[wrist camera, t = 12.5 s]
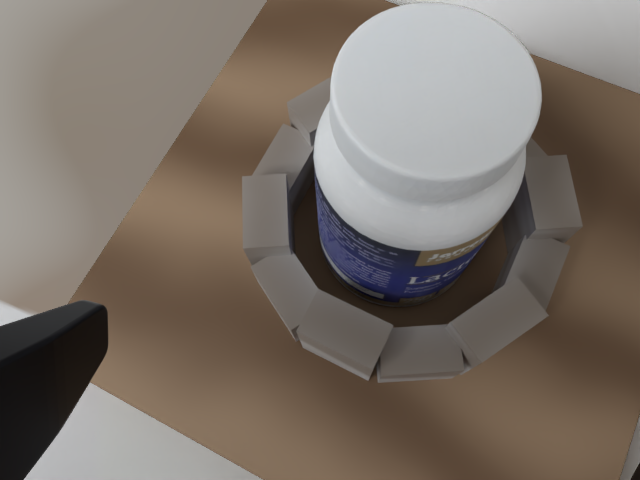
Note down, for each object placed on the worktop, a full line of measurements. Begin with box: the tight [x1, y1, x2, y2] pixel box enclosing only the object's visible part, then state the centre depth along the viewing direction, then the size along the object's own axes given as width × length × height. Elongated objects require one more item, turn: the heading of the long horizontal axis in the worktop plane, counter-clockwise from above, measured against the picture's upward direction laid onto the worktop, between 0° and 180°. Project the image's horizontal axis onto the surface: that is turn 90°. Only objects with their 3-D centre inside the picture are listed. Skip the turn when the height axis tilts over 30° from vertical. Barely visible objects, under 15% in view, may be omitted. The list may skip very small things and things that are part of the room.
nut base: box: [68, 0, 640, 480], centre depth 21 cm, size 20×20×4 cm
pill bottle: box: [313, 2, 542, 307], centre depth 17 cm, size 6×6×10 cm
